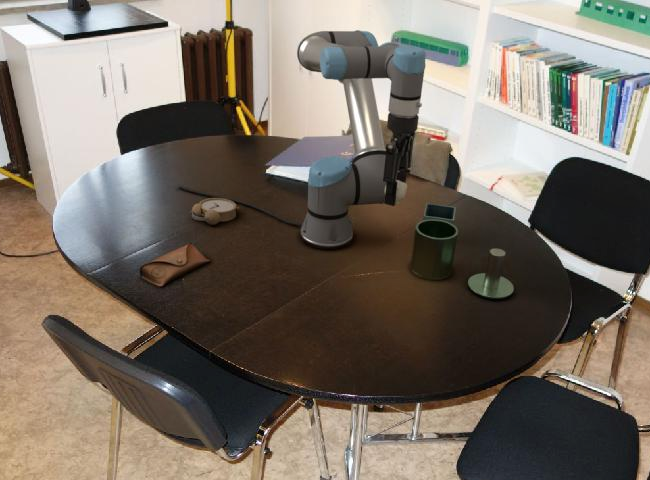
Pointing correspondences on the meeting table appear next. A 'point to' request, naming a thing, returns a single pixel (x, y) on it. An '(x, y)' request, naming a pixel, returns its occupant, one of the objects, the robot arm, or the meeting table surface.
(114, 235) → the meeting table surface
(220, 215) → the alarm clock
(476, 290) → the bin lid
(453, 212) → the flower pot
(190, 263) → the sunglasses case
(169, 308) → the meeting table surface
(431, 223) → the trash can
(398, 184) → the paper ball
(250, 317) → the meeting table surface
